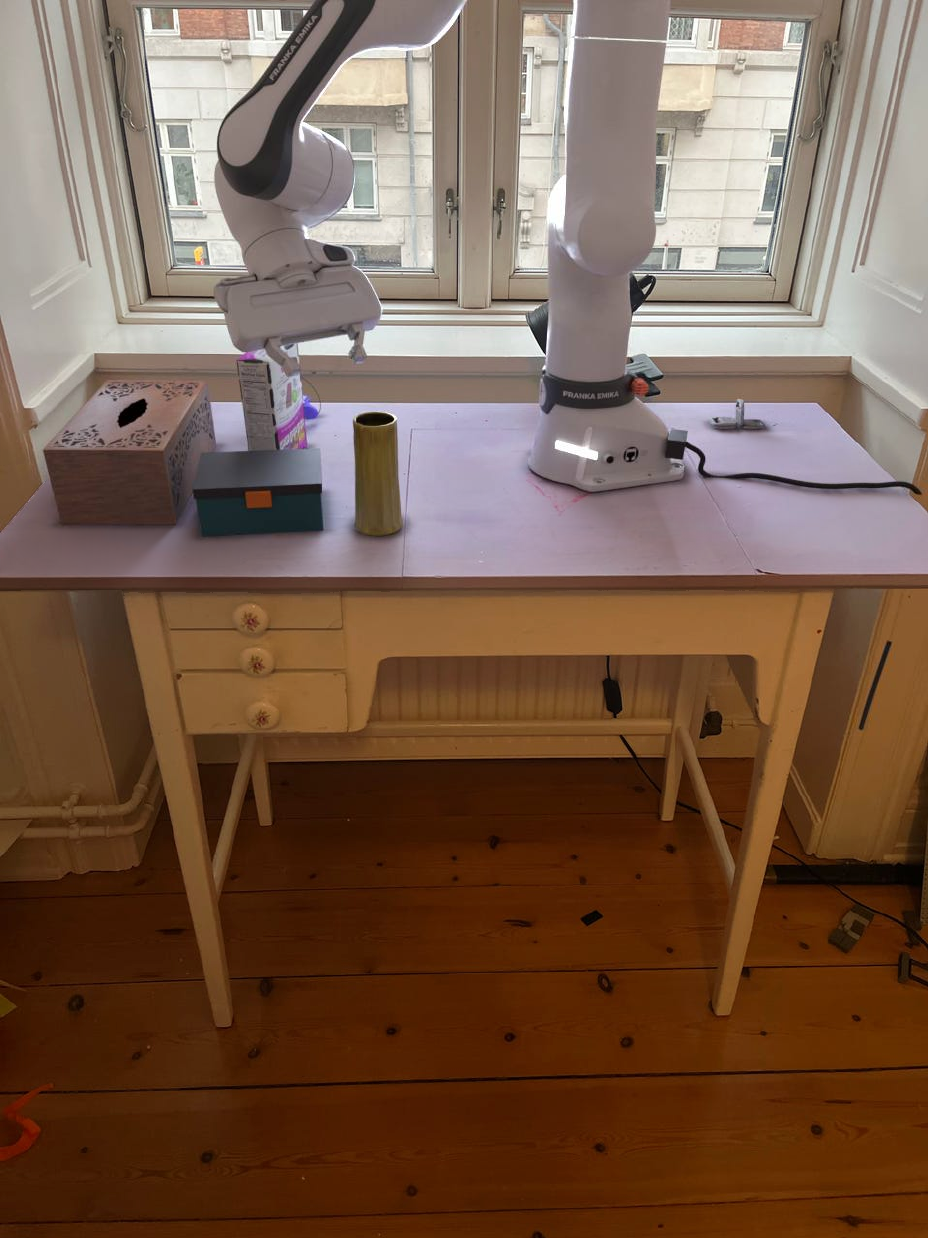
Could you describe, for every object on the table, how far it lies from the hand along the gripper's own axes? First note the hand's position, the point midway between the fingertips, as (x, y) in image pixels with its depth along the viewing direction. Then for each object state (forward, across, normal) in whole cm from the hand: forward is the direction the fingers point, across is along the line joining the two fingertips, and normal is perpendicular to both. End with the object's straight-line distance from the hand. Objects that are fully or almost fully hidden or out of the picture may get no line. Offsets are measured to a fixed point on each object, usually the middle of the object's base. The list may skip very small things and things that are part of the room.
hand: (328, 367), depth 116 cm
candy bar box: (+2, -1, +24) cm, 24 cm away
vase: (+20, 0, +5) cm, 21 cm away
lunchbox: (+12, -10, +13) cm, 21 cm away
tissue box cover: (-1, -20, +26) cm, 32 cm away
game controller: (-7, +7, +32) cm, 33 cm away
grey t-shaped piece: (+22, +67, +3) cm, 70 cm away
